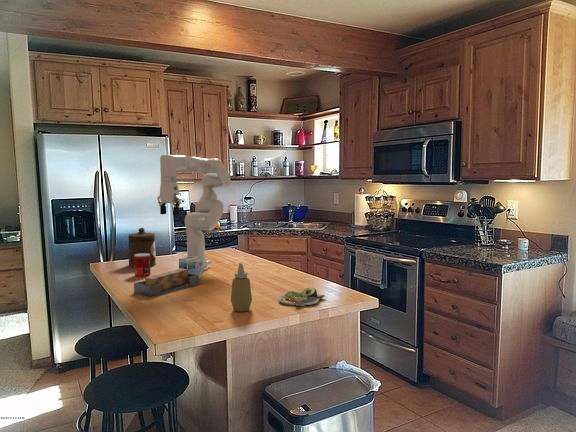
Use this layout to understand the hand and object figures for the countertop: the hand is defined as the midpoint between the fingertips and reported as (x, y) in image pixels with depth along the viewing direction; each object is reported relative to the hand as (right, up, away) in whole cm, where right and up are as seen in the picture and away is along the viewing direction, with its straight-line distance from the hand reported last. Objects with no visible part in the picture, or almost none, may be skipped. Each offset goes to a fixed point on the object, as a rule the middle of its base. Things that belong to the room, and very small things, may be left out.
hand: (169, 214), depth 212 cm
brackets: (+4, -34, -17) cm, 38 cm away
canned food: (-17, -32, +10) cm, 37 cm away
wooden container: (-26, -30, +36) cm, 54 cm away
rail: (+4, -33, -17) cm, 37 cm away
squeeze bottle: (+41, -37, -49) cm, 74 cm away
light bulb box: (+10, -32, +3) cm, 34 cm away
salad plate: (+64, -36, -36) cm, 82 cm away
